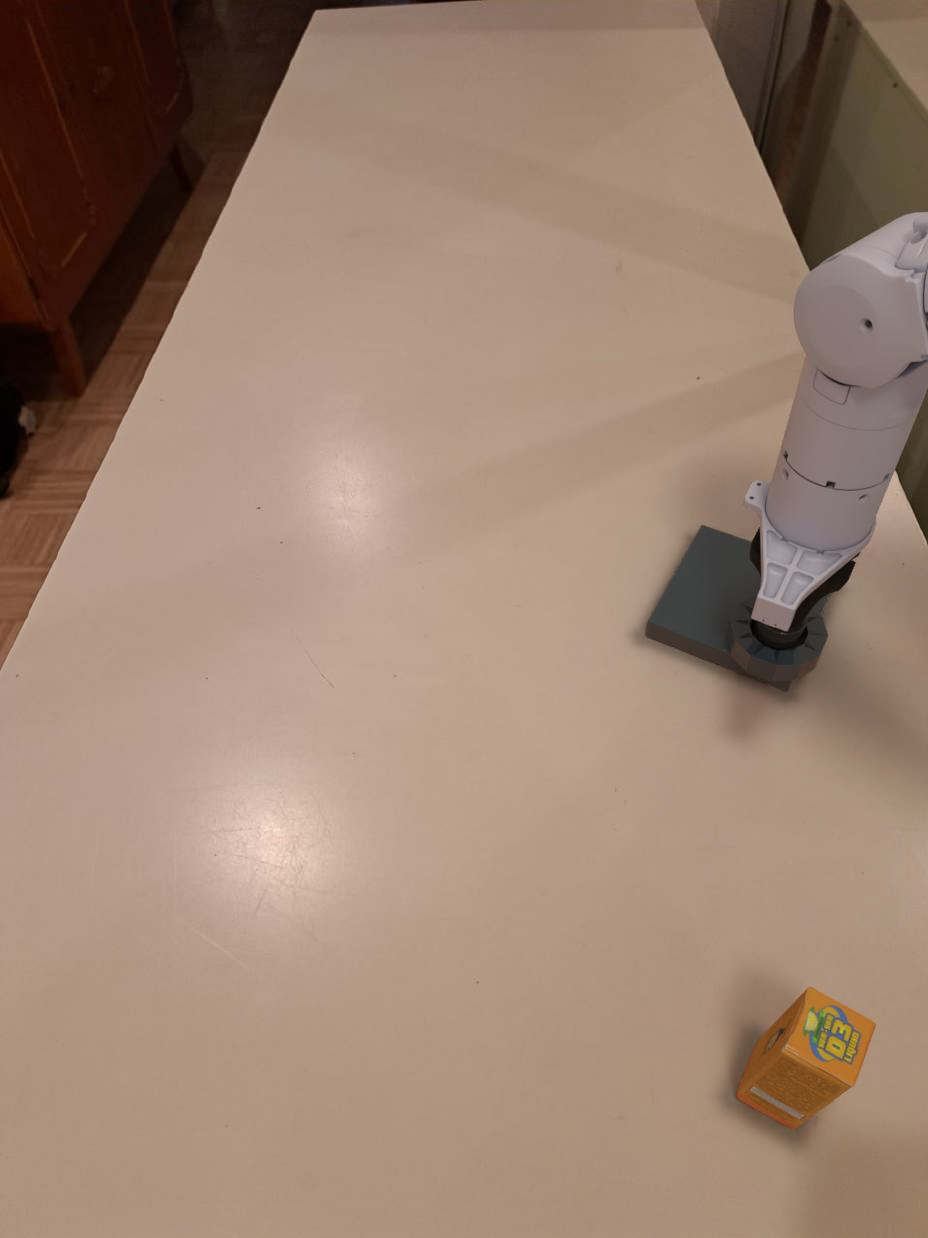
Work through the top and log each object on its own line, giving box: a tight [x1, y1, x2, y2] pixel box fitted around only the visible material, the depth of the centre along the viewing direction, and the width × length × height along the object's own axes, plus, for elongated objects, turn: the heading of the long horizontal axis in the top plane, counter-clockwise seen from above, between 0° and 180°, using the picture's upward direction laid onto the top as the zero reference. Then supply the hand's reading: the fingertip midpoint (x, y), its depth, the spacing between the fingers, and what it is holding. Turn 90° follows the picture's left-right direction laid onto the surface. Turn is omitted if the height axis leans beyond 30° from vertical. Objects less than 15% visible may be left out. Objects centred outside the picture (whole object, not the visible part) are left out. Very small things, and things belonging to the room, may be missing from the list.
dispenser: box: [645, 524, 832, 693], centre depth 65 cm, size 11×11×4 cm
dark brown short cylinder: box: [754, 616, 808, 650], centre depth 61 cm, size 3×3×2 cm
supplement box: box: [735, 986, 877, 1131], centre depth 44 cm, size 3×3×10 cm
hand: (784, 613), depth 60 cm, fingers closed
